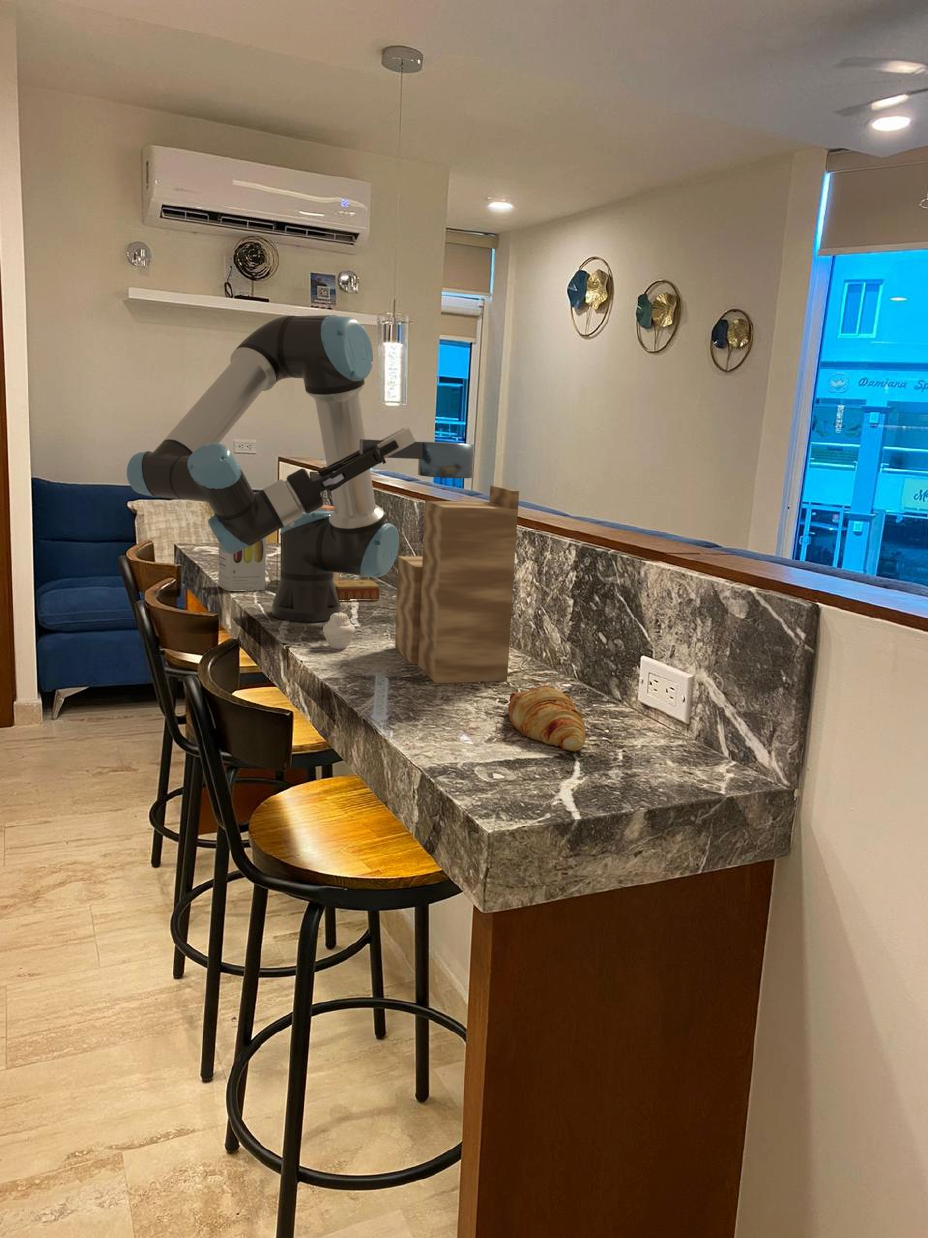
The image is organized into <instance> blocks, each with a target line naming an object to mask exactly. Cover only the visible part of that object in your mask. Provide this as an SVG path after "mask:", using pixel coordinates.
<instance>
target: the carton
mask: <svg viewBox="0 0 928 1238" xmlns="http://www.w3.org/2000/svg"><path fill="white" fill-rule="evenodd" d="M334 585H335V589H336V592H337V595H338V599H339V600H350V599H379V600H380V586H379V584H377V583H376V582H375V581H373V580H370V579H361V580H360V579H358V580H357V579H355V580H354V579H353V580H350V579H349V580H340V581H334Z"/></svg>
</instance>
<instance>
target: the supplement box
mask: <svg viewBox="0 0 928 1238" xmlns="http://www.w3.org/2000/svg"><path fill="white" fill-rule="evenodd" d="M266 559H267V537H265V538H263V539H262V540H260V541H258V542H257V543H255V544H253V545H252V546H251V547H247V548H245V549H243V550H241V551H239V552H236V553H234V554H228V553H226V552H225V551H224V550H223V548H222V546H221V545H220V543H219V542H218V579H217V580H218V587H219V588H222V589H223V590H226V591H227V590H228V591H227V592H229V591H233V590H265V591H266V567H267V566H266Z"/></svg>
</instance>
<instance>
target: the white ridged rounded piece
mask: <svg viewBox="0 0 928 1238" xmlns="http://www.w3.org/2000/svg"><path fill="white" fill-rule="evenodd" d="M322 631H323V634H324V638H325V639H326V642H327V643H328V645H329V647H330V648H331V649H334V650H343V649H344V650H345V649H347V648H348V646H349V644H350V642H351V641H352V639H353V637H354V634H355V631H356V628H355V626H354V625H353V624H352V623H351V621H350V617H349V616H348V615H347V613H344V612H341V613H340V612H339V613H334V614H332V615H331V616H330V620H327V623H326V624H324V625H323V628H322Z"/></svg>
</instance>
